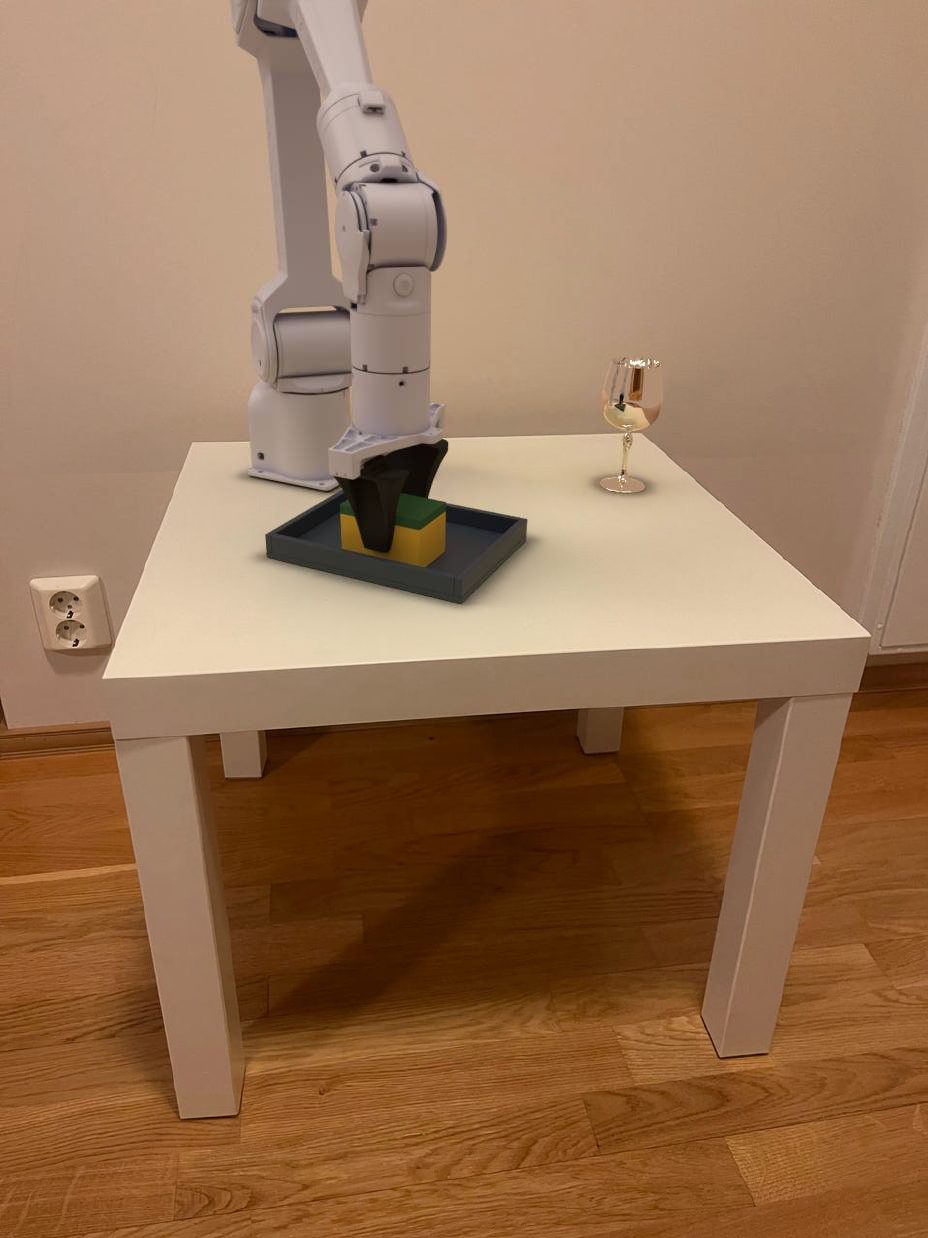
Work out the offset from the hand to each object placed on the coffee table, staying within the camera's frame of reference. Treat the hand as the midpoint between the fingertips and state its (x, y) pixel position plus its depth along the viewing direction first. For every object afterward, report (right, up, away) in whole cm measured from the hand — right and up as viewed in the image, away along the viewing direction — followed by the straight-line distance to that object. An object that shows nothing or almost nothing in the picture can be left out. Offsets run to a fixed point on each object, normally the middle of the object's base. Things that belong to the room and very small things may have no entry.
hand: (392, 537), depth 72 cm
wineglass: (+21, +7, +18) cm, 29 cm away
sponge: (0, -1, +1) cm, 1 cm away
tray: (0, -1, +3) cm, 3 cm away
